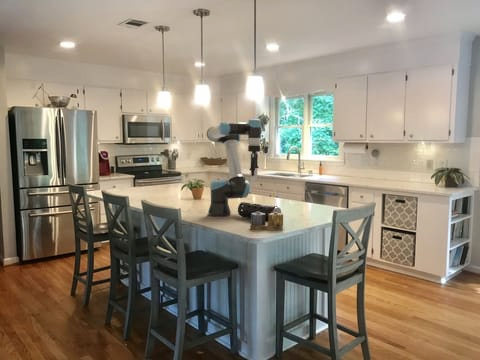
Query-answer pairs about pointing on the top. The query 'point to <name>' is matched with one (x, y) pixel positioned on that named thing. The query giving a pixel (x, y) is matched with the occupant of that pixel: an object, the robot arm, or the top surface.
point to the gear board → (271, 222)
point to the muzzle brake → (256, 209)
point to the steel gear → (258, 219)
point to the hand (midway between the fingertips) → (254, 179)
